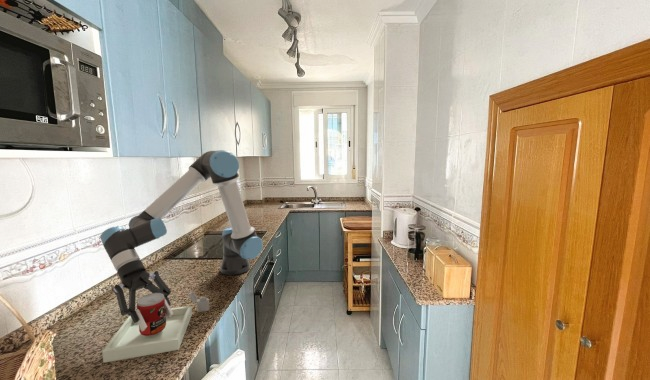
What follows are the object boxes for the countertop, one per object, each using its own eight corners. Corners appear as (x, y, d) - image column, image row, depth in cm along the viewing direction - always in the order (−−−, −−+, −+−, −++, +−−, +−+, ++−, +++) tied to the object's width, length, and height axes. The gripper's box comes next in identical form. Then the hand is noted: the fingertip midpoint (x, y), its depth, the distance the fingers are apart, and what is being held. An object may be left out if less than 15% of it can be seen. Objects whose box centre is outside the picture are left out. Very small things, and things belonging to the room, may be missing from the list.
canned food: (153, 338, 86) (151, 305, 85) (133, 334, 88) (130, 303, 86) (171, 323, 94) (169, 293, 92) (152, 320, 95) (150, 291, 94)
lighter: (209, 308, 107) (208, 289, 107) (208, 310, 106) (207, 291, 105) (190, 310, 106) (188, 291, 105) (189, 313, 104) (187, 293, 103)
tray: (191, 314, 103) (191, 305, 103) (178, 349, 84) (178, 339, 84) (131, 322, 98) (131, 313, 97) (103, 362, 79) (102, 351, 78)
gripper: (155, 261, 105) (183, 312, 99) (90, 282, 87) (119, 345, 81) (162, 251, 102) (191, 302, 96) (95, 270, 84) (126, 334, 78)
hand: (158, 322), depth 89 cm, fingers closed on canned food, 8 cm apart
